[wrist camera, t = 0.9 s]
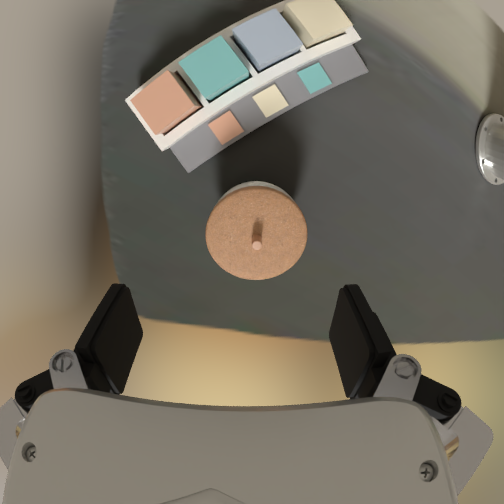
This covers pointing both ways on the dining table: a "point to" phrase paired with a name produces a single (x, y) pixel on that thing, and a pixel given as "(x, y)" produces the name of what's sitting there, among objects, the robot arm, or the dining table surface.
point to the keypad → (255, 93)
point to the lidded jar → (256, 231)
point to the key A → (166, 102)
